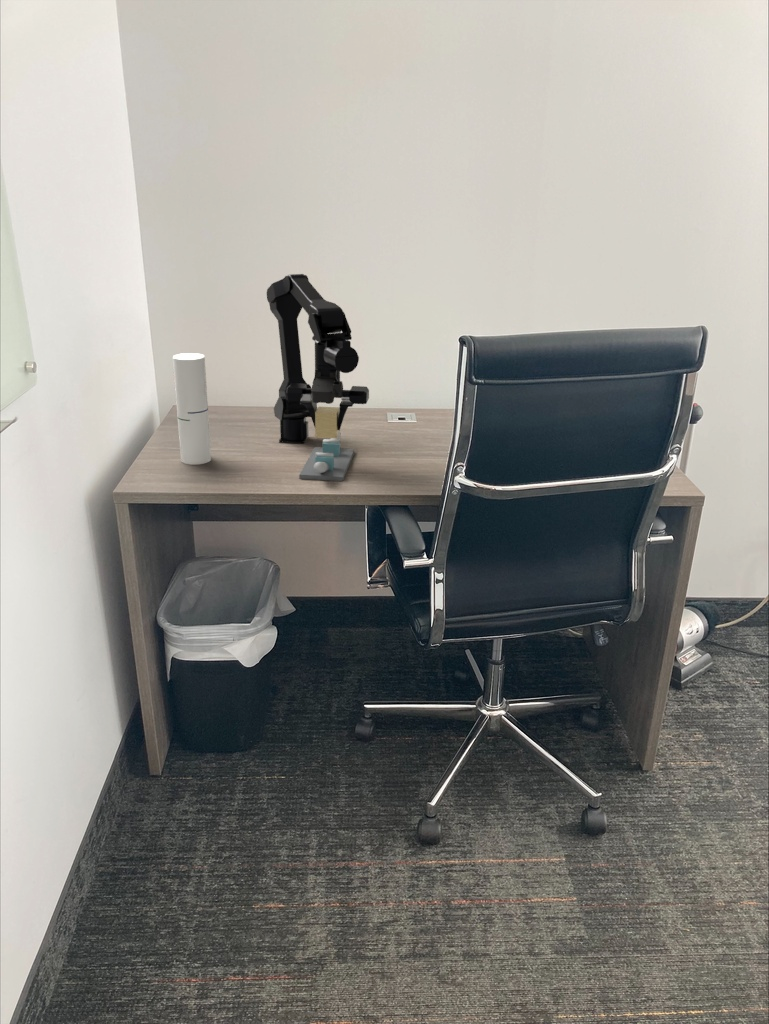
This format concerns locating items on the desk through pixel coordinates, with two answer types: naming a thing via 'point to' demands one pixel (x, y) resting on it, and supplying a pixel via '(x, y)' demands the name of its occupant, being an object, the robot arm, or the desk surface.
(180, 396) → the cylindrical container
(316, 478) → the coupling stand
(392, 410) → the desk surface
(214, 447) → the desk surface
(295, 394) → the robot arm
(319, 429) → the block
